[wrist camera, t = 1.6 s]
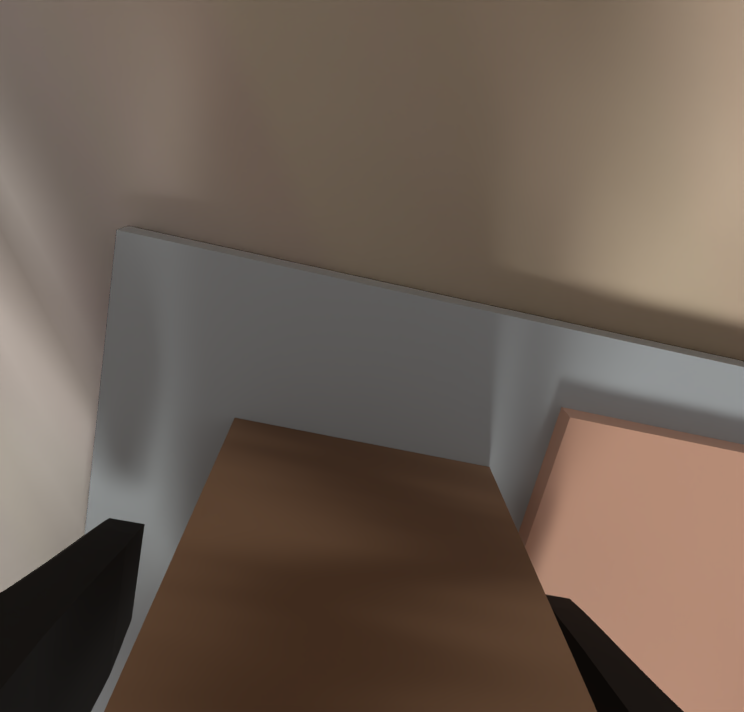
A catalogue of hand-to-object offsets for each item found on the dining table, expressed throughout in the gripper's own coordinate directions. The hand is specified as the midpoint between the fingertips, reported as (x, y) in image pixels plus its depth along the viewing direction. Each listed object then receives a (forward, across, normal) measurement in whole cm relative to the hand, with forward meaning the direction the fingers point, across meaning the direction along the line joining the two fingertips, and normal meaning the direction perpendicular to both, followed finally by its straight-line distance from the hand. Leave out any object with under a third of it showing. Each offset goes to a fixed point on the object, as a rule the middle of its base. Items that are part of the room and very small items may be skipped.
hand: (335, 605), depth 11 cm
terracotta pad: (+2, -8, 0) cm, 8 cm away
